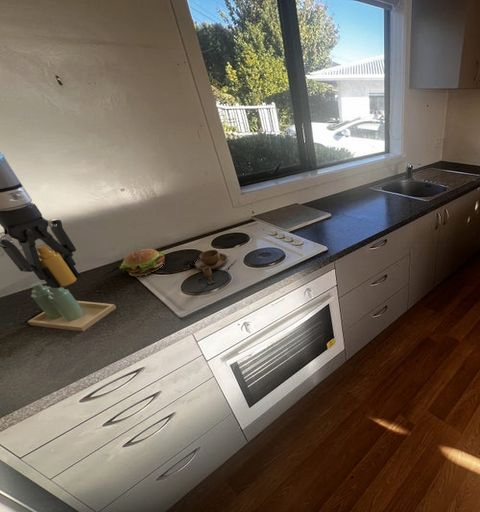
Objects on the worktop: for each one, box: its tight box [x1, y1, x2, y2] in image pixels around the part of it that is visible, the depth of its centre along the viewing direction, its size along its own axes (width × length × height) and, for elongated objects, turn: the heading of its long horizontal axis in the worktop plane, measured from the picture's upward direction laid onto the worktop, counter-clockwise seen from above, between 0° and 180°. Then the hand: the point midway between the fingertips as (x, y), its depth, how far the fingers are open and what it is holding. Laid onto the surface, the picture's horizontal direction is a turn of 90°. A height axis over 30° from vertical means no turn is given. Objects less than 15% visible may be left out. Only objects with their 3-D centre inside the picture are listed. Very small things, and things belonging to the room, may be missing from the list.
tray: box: [27, 300, 117, 332], centre depth 92 cm, size 19×11×2 cm, turn 82°
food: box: [118, 248, 166, 277], centre depth 114 cm, size 14×14×8 cm
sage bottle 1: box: [30, 281, 62, 319], centre depth 90 cm, size 5×5×12 cm
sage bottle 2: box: [47, 285, 84, 321], centre depth 89 cm, size 5×5×12 cm
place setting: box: [187, 249, 238, 281], centre depth 114 cm, size 18×20×6 cm
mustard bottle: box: [35, 244, 78, 288], centre depth 82 cm, size 5×5×12 cm
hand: (65, 281), depth 84 cm, fingers closed on mustard bottle, 5 cm apart
